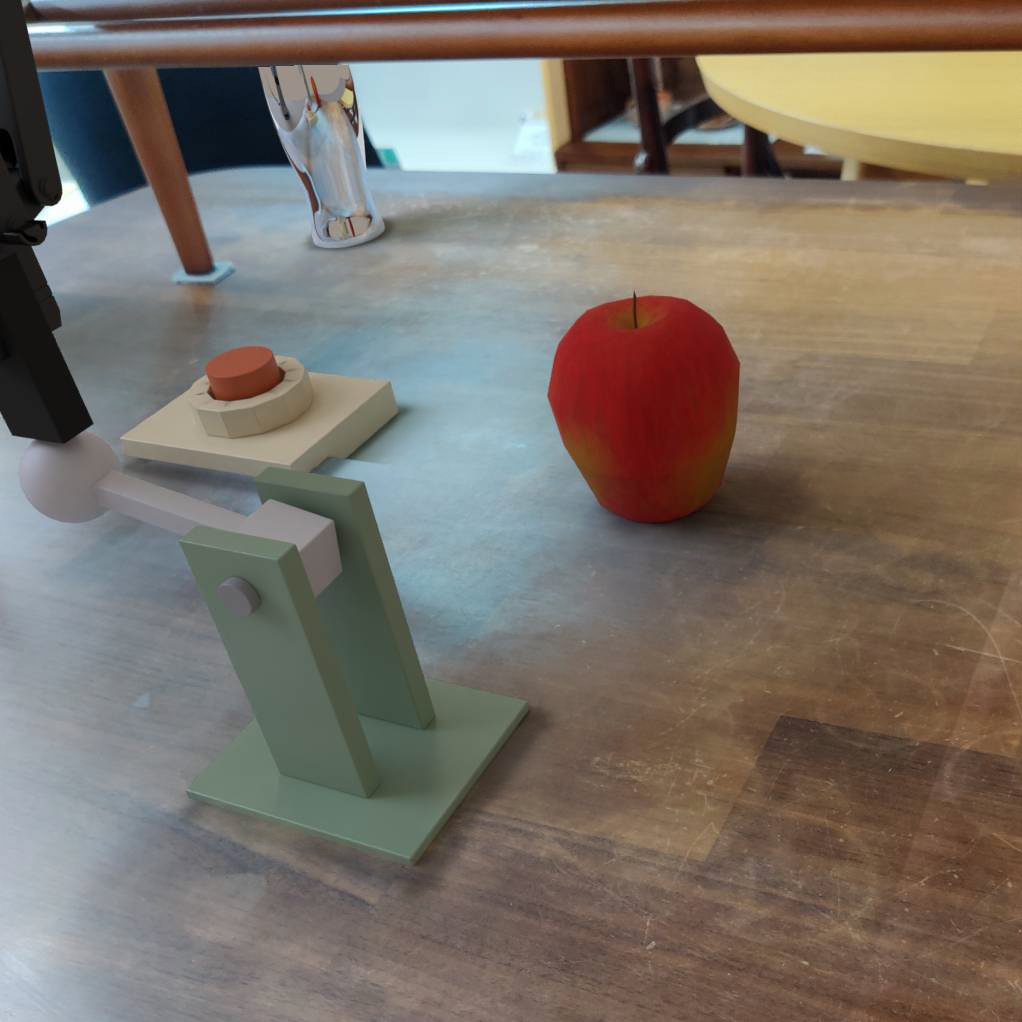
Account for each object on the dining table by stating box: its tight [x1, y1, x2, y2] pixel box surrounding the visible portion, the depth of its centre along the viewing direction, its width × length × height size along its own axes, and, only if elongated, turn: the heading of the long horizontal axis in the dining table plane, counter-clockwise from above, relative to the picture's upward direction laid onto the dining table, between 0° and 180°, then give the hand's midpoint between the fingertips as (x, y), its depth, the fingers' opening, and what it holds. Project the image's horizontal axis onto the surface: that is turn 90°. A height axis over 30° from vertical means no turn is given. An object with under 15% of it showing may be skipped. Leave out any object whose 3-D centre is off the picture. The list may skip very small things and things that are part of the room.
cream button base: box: [119, 354, 399, 478], centre depth 72 cm, size 13×10×4 cm
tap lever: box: [18, 430, 342, 598], centre depth 44 cm, size 13×4×4 cm, turn 65°
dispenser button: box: [204, 345, 282, 402], centre depth 71 cm, size 4×4×2 cm
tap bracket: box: [178, 467, 530, 867], centre depth 46 cm, size 11×9×13 cm
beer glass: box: [257, 64, 386, 249], centre depth 96 cm, size 7×7×15 cm
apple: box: [546, 290, 741, 523], centre depth 59 cm, size 9×9×12 cm
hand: (52, 429), depth 44 cm, fingers closed
